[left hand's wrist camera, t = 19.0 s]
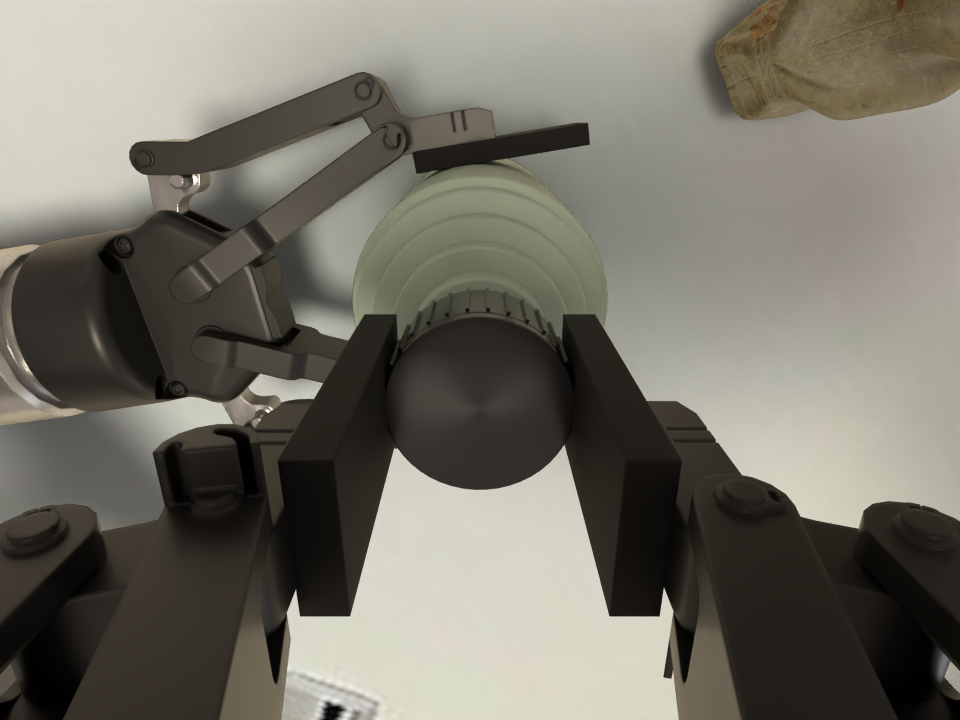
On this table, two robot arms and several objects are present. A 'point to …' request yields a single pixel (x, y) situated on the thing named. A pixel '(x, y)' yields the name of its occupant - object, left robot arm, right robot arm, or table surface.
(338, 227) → the table surface
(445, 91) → the table surface
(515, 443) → the cap
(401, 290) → the bottle
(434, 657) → the table surface
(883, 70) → the sculpture
